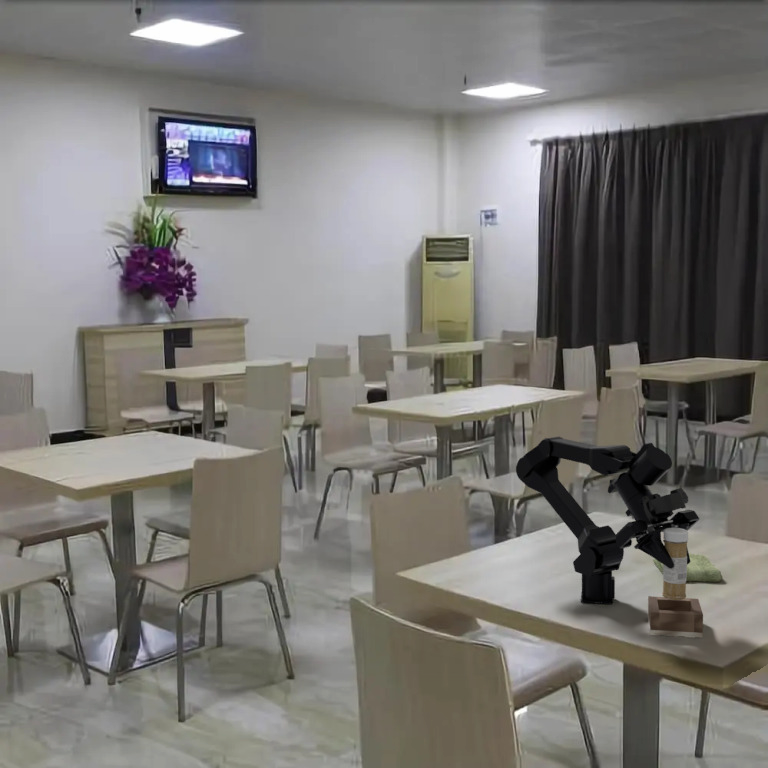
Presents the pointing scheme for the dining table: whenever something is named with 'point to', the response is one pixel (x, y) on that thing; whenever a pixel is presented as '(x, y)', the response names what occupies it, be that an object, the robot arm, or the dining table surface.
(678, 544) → the sprinkles bottle
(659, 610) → the socket block
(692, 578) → the washcloth
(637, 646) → the dining table surface
